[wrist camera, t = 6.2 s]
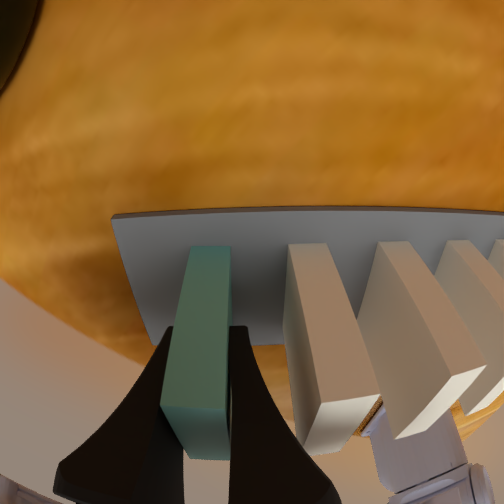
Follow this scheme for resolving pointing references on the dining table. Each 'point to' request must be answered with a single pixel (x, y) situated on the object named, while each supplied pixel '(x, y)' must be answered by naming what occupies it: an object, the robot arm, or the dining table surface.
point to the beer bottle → (13, 32)
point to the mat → (279, 252)
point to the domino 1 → (201, 357)
